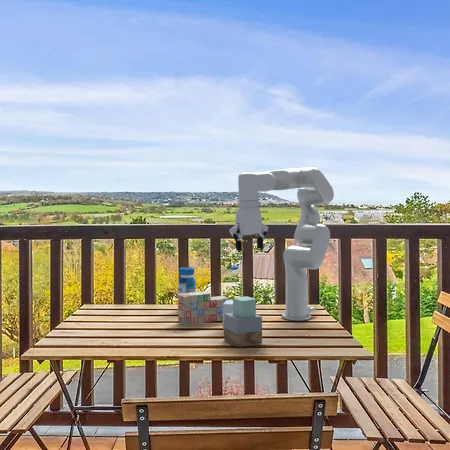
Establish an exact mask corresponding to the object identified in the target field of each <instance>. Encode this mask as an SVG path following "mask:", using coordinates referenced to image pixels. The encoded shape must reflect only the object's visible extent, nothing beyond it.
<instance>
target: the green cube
mask: <svg viewBox="0 0 450 450" xmlns="http://www.w3.org/2000/svg"><path fill="white" fill-rule="evenodd" d="M232 300H233V314H234V315H236V316H238V317H241V318H244V317H251V316H256V314H257V299H256V298H254V297H250V296H247V295H246V296H240V297H233V298H232Z"/></svg>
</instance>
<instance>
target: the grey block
mask: <svg viewBox="0 0 450 450" xmlns="http://www.w3.org/2000/svg"><path fill="white" fill-rule="evenodd" d="M224 327H225V328H227V329H229V330H231V331H232V332H234V333H236V334H241V333H248V332H255V331H262V332H263V316H262V315H259V314H257V313H256V316H251V317H244V318H241V317H238V316H236V315H234V314H233V313H226V314H224Z"/></svg>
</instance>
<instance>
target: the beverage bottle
mask: <svg viewBox="0 0 450 450" xmlns="http://www.w3.org/2000/svg"><path fill="white" fill-rule="evenodd" d="M194 275H195V268H194V267H191V266H183V267H180V268H179V276H180V277H179V279H178V283H177V284H178V286H177V290H178V292H177V293H178V294H184V293H192V292H197V286H196V283H197V282H196V278H195V277H194ZM178 294H177V295H178Z"/></svg>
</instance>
